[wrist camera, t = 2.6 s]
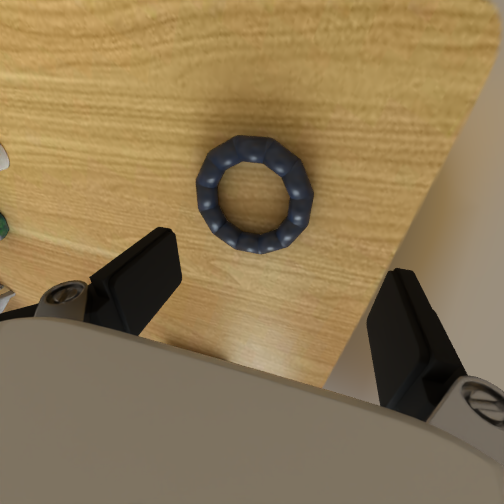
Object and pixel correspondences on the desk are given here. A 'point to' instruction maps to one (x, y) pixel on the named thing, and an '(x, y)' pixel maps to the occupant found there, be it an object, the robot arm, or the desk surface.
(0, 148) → the cup
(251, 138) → the ring
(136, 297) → the robot arm
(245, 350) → the desk surface
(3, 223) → the decorative ornament
